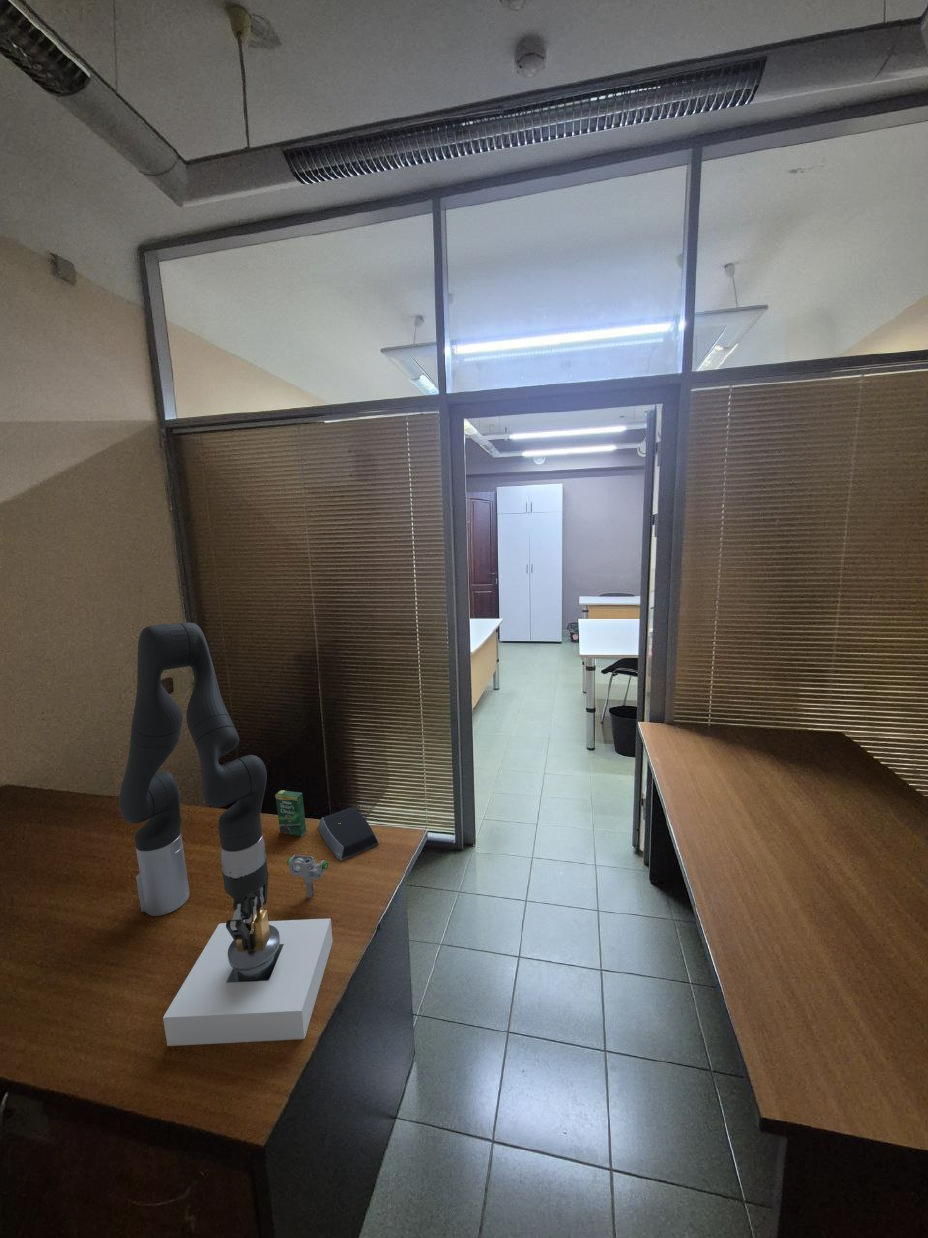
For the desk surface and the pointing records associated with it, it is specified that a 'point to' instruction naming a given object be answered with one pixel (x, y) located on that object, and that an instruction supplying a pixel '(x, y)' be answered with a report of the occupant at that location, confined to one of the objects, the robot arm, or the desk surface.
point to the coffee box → (291, 813)
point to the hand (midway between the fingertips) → (253, 940)
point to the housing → (251, 990)
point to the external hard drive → (347, 833)
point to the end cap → (256, 952)
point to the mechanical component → (307, 870)
